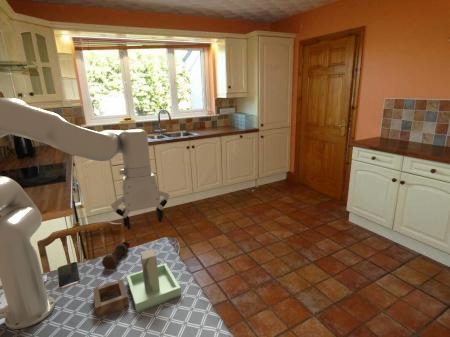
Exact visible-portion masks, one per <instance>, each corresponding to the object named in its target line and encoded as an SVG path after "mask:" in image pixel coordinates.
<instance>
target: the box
mask: <svg viewBox="0 0 450 337" xmlns="http://www.w3.org/2000/svg"><path fill="white" fill-rule="evenodd" d="M156 254H157V253H156V252H155V250H154V249H153V248H151V249H147V250H142V251H140V261H141V269H142V270H143V278H144V285H145V289H146V292H147V294H148V293H151V292H154V291H157V290H160V287H159V277H158V268H157V266H158V260H157V255H156ZM142 270H141V271H142Z"/></svg>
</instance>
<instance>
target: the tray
mask: <svg viewBox="0 0 450 337" xmlns="http://www.w3.org/2000/svg"><path fill="white" fill-rule="evenodd" d="M157 268H158V277H159V287H160V290H157V291H154V292H151V293H148V294H147V292H146V289H145V285H144V278H143V270H140V271H136V272H133V273H131V274H127V275H125V276H126V282H127V287H128V289H129V291H130V292H129V293H130V296H131V298H132V302H133V304H134V309H135V311H136V313H139V312H142V311H145V310H147V309H151V308H152V307H155V306H157V305H160V304H162V303H163V304H164V303H165V302H169V301H171V300H173V299H176V298H178V297H182V288H181V286H180V284H179V282H178V280H177V279H176V278H175V276H174V273H172V271H171V268H169V266H168V264H167V263H166V262H165V263H161V264H157Z"/></svg>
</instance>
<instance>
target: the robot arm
mask: <svg viewBox="0 0 450 337" xmlns="http://www.w3.org/2000/svg"><path fill="white" fill-rule="evenodd" d="M8 135H12V136H16V137H19V138H20V137H21V138H25V139H29V140H31V141H36V142H38V143H43V144H45V145H46V144H47V145H49V146H51V147H52V148H54V149H56V150H59V151H61V152H64V153H67V154H69V155H71V156H77V157H79V158H84V159H86V160H87V159H88V160H92V161H96V162H107V161H111V160H112V159H114V157H116V155H118V154H121V155H122V163H123V167H122V169H119V170H118V172H119V175H124V176H123V177H122V196H121V197H119V198H118V199H117V200H115V201H114V202H112V203H111V204H110V206H111V208H112V209H113V211H114V212H115V213H116V214H117V215H118V216H120V217H122V219H123V220H122V221H123V225H124V226H123V227H126V229H127V230H128V231H129V230H131V224H130V222H131V221H130V217H129V215H130V213H132V212H136V211H137V212H138V211H141V210H145V209H146V210H147V209H151V208H155V207H156V208H155V212H156V219H157V221H158V222H159V223H162V222H163V221H162V220H163V218H164V214H163V213H164V212H163V210H164V207H166V204H168V200H169V198H170V194H169V193H168V192H164V191H163V190H159V188H158V182H157V178H156V175H155V174H154V173H153V172H152V167H151V159H150V156H151V155H150V149H149V148H150V147H149V139H148V133H147V131H146V130H144V129H139V128H134V129H133V128H132V129H126V130H115V129H114V130H113V129H104V130H101V131H95V130H91V129H88V128H85V127H81V126H78V125H76V124H74V123H70V122H69V121H67V120H65V119H64V118H63V117H62V116H61V115H59V114H58V113H55V112H53V111H49V110H45V109H41V108H38V107H35V106H31V105H29V104H28V103H27V102H25V101H23V100H21V99H19V98H15V97H0V139H1V138H3V137H5V136H8ZM160 197H163V198H162V200H161V199H160ZM160 200H161V201H160ZM122 204H123V205H124V208H123V209H121V208H119V206H121V205H122ZM42 222H43V216H42V213H41V211H40V210H39V208H38V207H37V205H36V204H35V202H34V201H33V200H32V199H31V198H30V196H29V194H28V193H27V192H25V190H24V189H23V187H22V186H21V185H20V183H18V182H17V181H16V180H14V179H12V178H10V177H9V176H3V175H0V283H1V286H2V290H3V293H4V296H5V297H4V298H5V300H6V303H7V305H4V306H3V307H2V308H0V320H2V319H4V322H5V326H6V327H7V328H9V329H12V330H19V329H25V328H28V327H31V326H33V325H37V323H39V322H42V321H43V320H45V319H46V318H47V317H48V316H50V314H51V313H52V312H53V310H54V309H55V307H56V301H55V298H54V297H53V296H50V295H48V293H47V289H46V286H45V285H46V284H45V280H44V277H43V273H42V269H41V265H40V264H41V263H40V261H39V260H40V259H39V256H38V254H37V250H36V249H35V247H34V246H33V244H32V243H31V238H32V237H33V236H34V234H35V233H36V232H37V231H38V230H39V228H40V227H41V225H42Z"/></svg>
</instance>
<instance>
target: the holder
mask: <svg viewBox="0 0 450 337" xmlns="http://www.w3.org/2000/svg"><path fill="white" fill-rule="evenodd" d="M118 293H119V294H120V295H119V296H117V297H114V298H111V299H108V300H105V301H101V299H104V298H107V297H110V296H113V295H115V294H118ZM93 299H94V306H95V313H96V316H97V319H99V318H101V317H104V316H106V315H110V314H112V313H115V312H118V311H121V310H123V309H126V308H128V307H130V303H129V296H128V293H127V289H126V286H125V283H124V279H123V278H121V279H117V280H115V281H111V282H109V283H106V284H103V285H99V286H96V287H93Z"/></svg>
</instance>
